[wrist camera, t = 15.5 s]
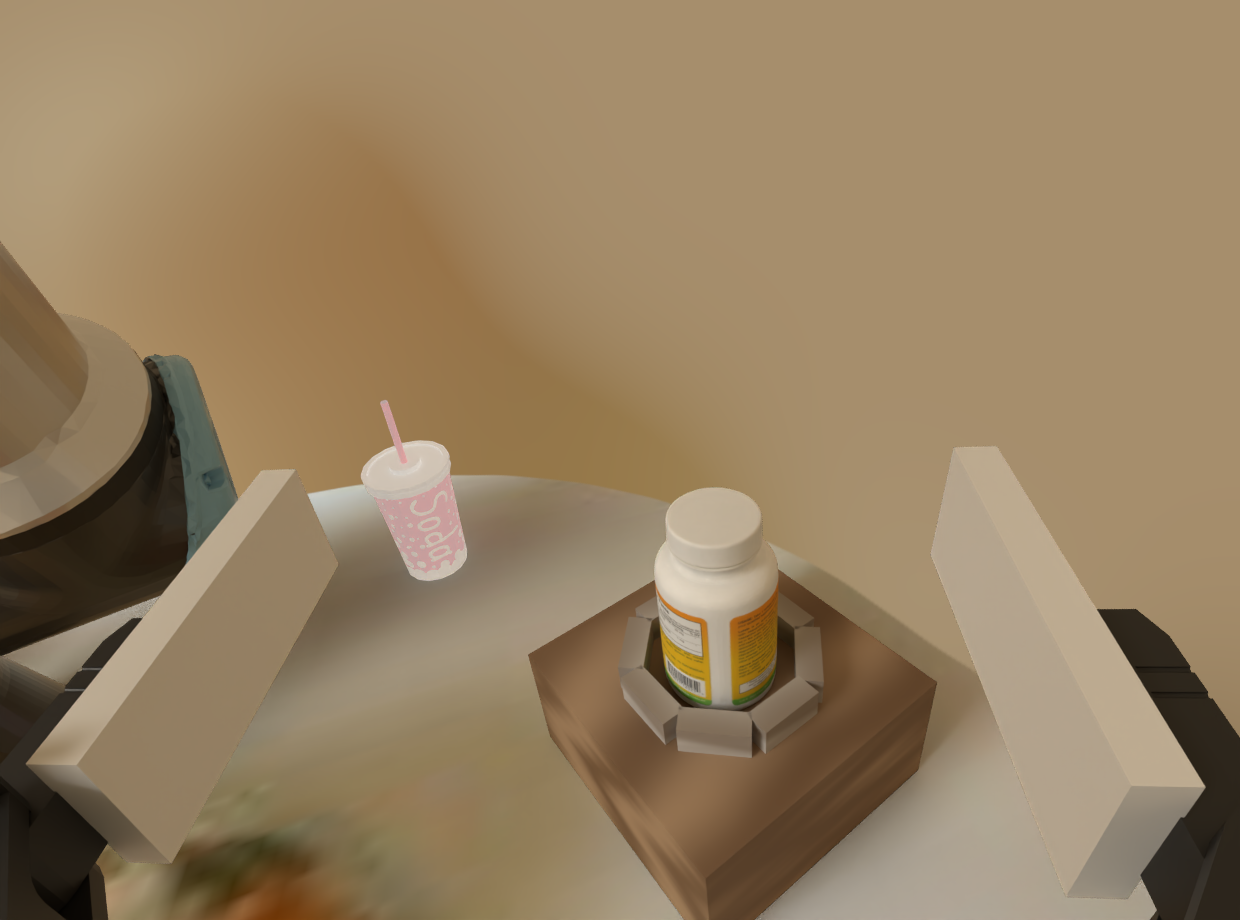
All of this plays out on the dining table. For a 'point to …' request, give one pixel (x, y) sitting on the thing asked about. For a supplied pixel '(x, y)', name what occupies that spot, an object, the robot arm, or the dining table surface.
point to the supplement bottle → (717, 600)
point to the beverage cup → (418, 504)
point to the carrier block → (734, 748)
